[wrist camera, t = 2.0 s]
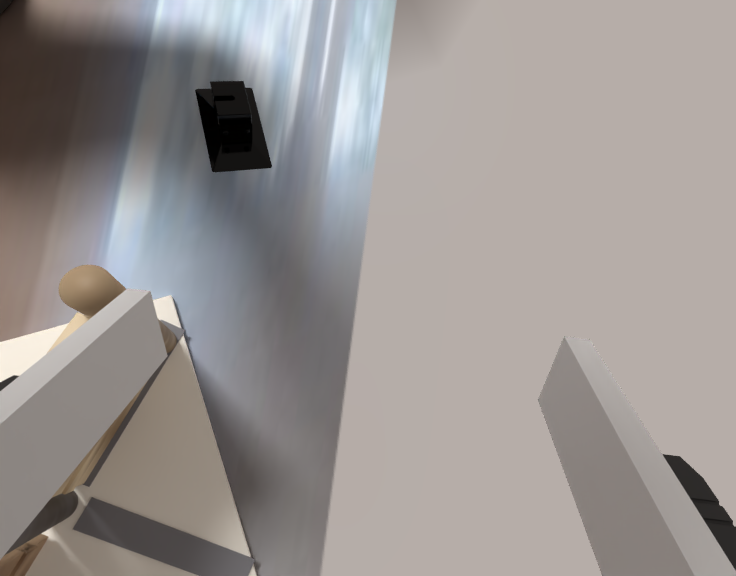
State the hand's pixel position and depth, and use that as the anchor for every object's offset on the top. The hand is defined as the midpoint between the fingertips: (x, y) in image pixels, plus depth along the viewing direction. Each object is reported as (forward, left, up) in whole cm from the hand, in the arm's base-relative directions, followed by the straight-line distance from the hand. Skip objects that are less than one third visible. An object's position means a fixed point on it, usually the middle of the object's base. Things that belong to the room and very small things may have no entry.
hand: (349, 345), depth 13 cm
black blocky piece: (-25, +3, -22) cm, 34 cm away
